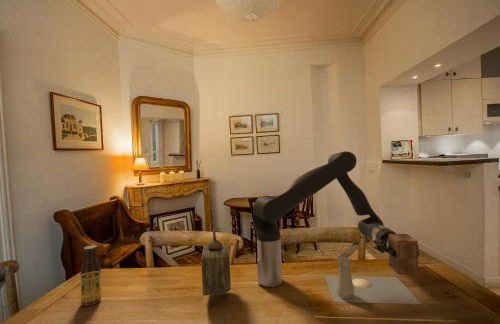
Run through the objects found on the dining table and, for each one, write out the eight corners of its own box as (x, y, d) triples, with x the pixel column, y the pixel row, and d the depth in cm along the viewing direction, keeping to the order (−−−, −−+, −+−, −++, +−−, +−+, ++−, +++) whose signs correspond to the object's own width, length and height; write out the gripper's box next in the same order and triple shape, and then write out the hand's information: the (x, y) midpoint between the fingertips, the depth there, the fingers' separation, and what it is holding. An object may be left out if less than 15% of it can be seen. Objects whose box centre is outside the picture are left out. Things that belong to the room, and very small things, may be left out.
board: (334, 302, 84) (334, 301, 84) (324, 276, 102) (324, 275, 102) (421, 305, 81) (421, 303, 81) (396, 277, 98) (396, 276, 98)
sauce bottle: (79, 309, 86) (76, 251, 86) (82, 300, 92) (78, 246, 91) (102, 303, 89) (98, 247, 89) (103, 295, 95) (100, 242, 94)
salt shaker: (351, 291, 89) (350, 255, 89) (357, 301, 84) (355, 262, 83) (334, 291, 90) (333, 255, 90) (338, 300, 84) (337, 262, 84)
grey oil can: (207, 288, 97) (204, 223, 96) (230, 286, 98) (227, 221, 97) (203, 311, 83) (199, 234, 82) (231, 308, 83) (228, 232, 83)
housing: (398, 274, 82) (397, 240, 81) (389, 265, 89) (388, 233, 88) (418, 274, 81) (417, 240, 81) (407, 265, 88) (406, 233, 88)
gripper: (365, 228, 100) (382, 243, 83) (404, 227, 98) (430, 243, 81) (366, 247, 100) (383, 266, 83) (405, 246, 98) (430, 266, 81)
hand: (406, 254), depth 82 cm, fingers closed on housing, 6 cm apart
